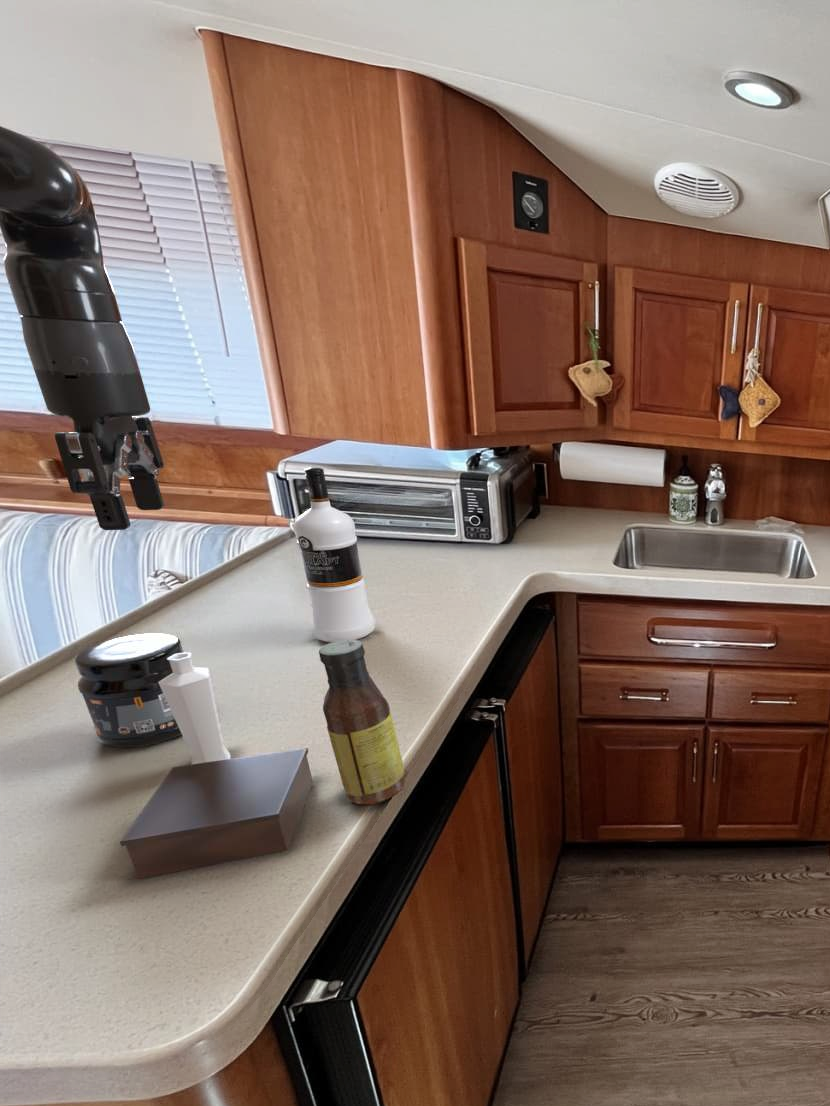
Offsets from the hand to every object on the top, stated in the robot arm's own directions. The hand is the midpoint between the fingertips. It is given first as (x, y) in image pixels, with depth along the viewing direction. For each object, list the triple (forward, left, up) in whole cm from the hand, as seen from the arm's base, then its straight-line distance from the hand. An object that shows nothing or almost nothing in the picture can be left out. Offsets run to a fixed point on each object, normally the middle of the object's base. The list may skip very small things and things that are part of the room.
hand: (134, 518), depth 71 cm
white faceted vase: (+2, -4, -31) cm, 31 cm away
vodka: (+10, +34, -31) cm, 47 cm away
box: (+8, -18, -31) cm, 37 cm away
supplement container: (-7, +7, -31) cm, 32 cm away
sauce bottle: (+21, -16, -31) cm, 41 cm away
